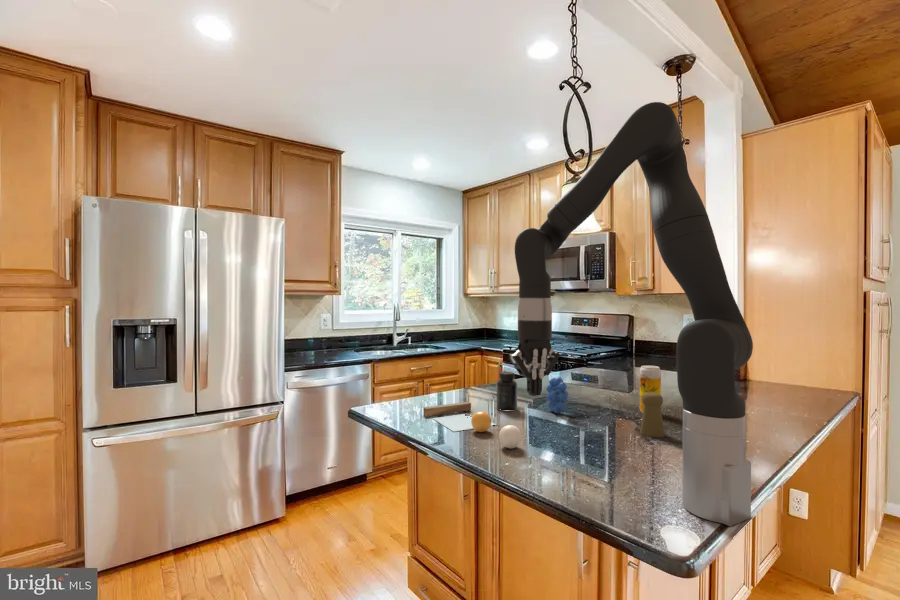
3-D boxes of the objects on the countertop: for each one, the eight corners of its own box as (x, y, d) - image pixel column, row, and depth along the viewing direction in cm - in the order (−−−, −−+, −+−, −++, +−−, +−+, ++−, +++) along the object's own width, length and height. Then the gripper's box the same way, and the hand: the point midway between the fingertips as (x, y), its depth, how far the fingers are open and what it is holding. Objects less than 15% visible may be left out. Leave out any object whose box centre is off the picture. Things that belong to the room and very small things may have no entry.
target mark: (496, 425, 122) (496, 424, 122) (453, 432, 116) (453, 431, 116) (472, 413, 134) (472, 412, 134) (432, 418, 128) (432, 418, 128)
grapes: (578, 417, 130) (578, 378, 130) (558, 419, 128) (558, 379, 128) (559, 408, 141) (560, 372, 141) (541, 409, 140) (541, 373, 140)
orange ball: (495, 433, 115) (495, 412, 115) (477, 436, 112) (477, 415, 112) (484, 427, 120) (484, 408, 120) (467, 430, 117) (467, 410, 117)
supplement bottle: (506, 405, 145) (506, 370, 145) (521, 409, 140) (521, 373, 140) (492, 408, 141) (492, 372, 141) (507, 412, 135) (507, 375, 135)
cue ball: (526, 449, 102) (526, 427, 102) (507, 453, 100) (507, 430, 100) (513, 442, 107) (513, 421, 107) (494, 446, 105) (494, 423, 105)
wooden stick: (471, 410, 138) (471, 403, 138) (425, 416, 130) (425, 408, 130) (468, 409, 139) (468, 401, 139) (423, 415, 132) (423, 407, 132)
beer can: (635, 412, 136) (635, 365, 136) (648, 410, 139) (648, 364, 139) (651, 417, 131) (651, 368, 131) (665, 414, 133) (665, 367, 133)
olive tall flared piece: (667, 438, 111) (667, 396, 111) (643, 436, 112) (643, 395, 112) (660, 430, 117) (661, 391, 117) (637, 429, 118) (637, 390, 118)
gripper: (520, 319, 89) (520, 401, 89) (569, 318, 95) (568, 395, 95) (500, 318, 95) (500, 394, 95) (547, 317, 101) (547, 389, 101)
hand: (534, 394), depth 95 cm, fingers closed
